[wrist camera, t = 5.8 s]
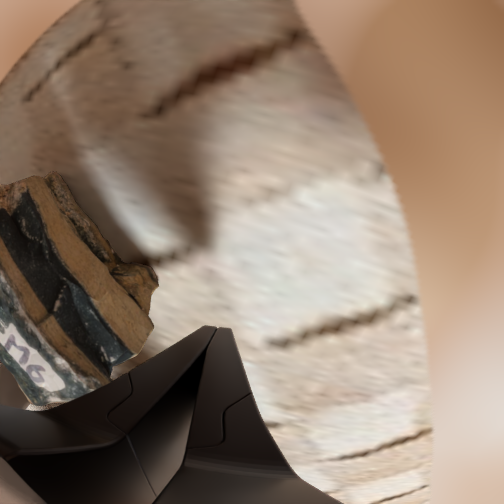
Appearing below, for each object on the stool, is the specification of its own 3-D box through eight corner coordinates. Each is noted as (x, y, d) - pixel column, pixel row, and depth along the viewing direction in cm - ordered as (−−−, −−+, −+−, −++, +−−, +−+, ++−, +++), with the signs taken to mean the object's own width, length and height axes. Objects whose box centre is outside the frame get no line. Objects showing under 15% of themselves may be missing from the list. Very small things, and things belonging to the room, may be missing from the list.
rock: (-7, 236, 12) (-81, 274, 7) (96, 141, 10) (-22, 154, 5) (66, 366, 14) (14, 429, 9) (194, 332, 12) (143, 438, 7)
